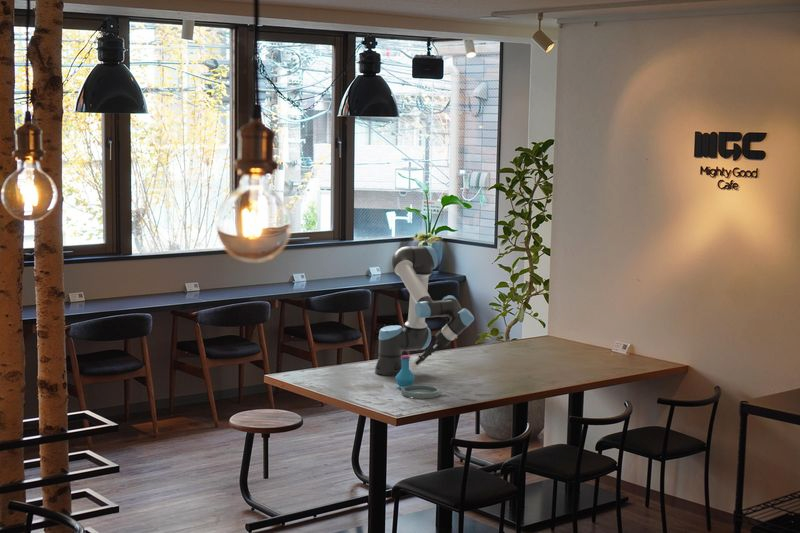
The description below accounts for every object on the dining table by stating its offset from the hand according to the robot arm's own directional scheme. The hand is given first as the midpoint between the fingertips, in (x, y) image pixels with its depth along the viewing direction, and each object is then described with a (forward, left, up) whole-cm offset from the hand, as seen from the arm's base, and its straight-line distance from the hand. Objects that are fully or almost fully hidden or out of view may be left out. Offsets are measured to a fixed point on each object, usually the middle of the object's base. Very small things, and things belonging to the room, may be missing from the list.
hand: (414, 365), depth 486 cm
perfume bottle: (-5, +1, -11) cm, 12 cm away
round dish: (+5, -11, -11) cm, 16 cm away
